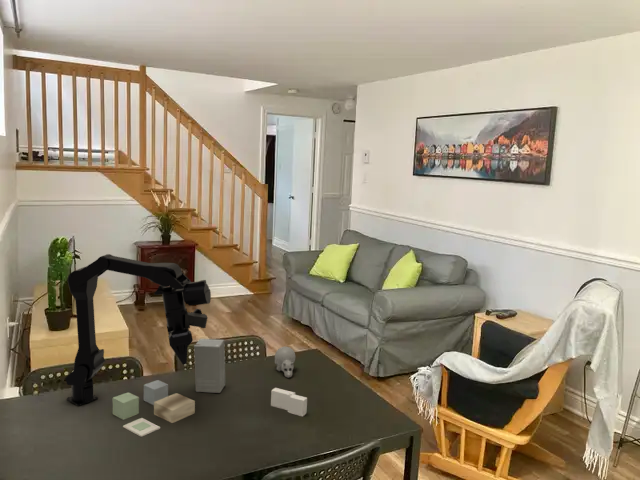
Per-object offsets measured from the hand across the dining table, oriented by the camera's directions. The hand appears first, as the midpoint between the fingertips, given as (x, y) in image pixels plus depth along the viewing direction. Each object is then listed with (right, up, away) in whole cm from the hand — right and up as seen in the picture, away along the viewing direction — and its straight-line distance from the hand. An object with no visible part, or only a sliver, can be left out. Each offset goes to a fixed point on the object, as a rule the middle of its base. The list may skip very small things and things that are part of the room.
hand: (183, 359), depth 156 cm
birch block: (-2, -15, -3) cm, 16 cm away
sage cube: (-15, -15, -4) cm, 22 cm away
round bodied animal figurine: (+28, -12, +31) cm, 43 cm away
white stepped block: (+30, -17, +3) cm, 35 cm away
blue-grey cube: (-10, -14, +5) cm, 18 cm away
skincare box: (+4, -13, +15) cm, 20 cm away
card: (-8, -16, -11) cm, 21 cm away
